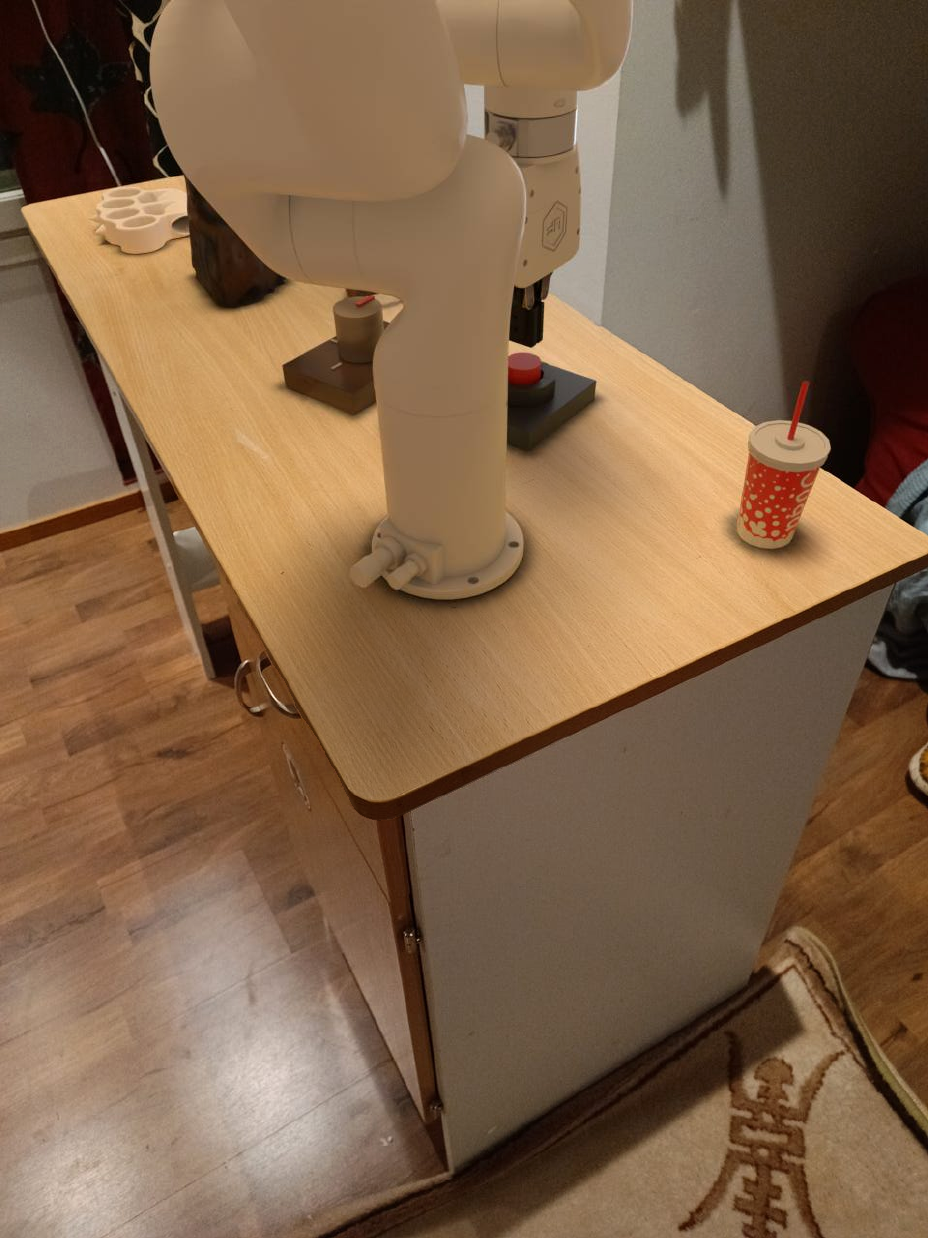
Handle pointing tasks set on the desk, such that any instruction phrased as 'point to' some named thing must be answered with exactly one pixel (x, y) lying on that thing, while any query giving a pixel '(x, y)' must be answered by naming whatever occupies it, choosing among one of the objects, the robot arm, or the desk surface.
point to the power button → (524, 368)
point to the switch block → (545, 405)
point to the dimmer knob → (358, 327)
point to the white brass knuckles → (142, 218)
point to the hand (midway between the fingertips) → (524, 340)
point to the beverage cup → (779, 478)
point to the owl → (224, 257)
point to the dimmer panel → (332, 378)
